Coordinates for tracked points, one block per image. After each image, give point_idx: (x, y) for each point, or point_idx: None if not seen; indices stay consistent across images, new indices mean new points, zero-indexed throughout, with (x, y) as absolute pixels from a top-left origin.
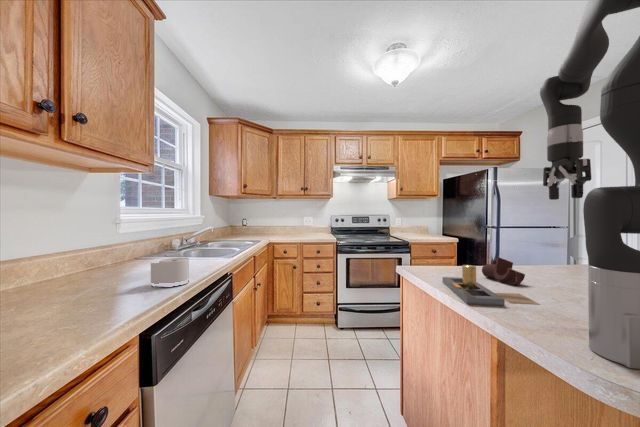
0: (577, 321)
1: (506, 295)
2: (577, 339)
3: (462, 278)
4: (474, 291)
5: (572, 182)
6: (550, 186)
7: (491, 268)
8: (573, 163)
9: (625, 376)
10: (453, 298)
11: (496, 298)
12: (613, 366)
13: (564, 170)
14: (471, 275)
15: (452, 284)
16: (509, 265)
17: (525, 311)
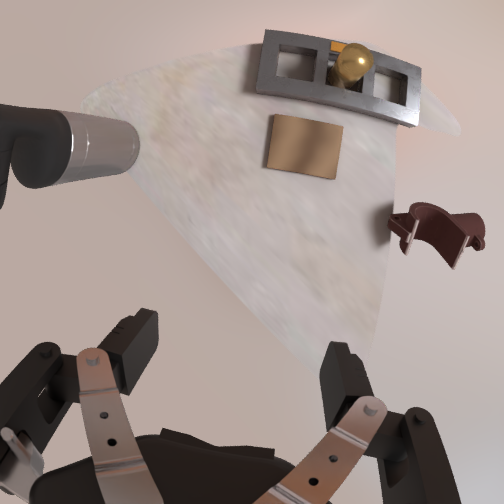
0: (207, 180)
1: (323, 140)
2: (150, 127)
3: (412, 103)
4: (315, 66)
5: (95, 353)
6: (354, 405)
7: (459, 217)
8: (34, 485)
9: None
10: None
11: (261, 77)
12: None
13: (104, 456)
14: (337, 59)
15: None
16: (449, 255)
17: (249, 125)
